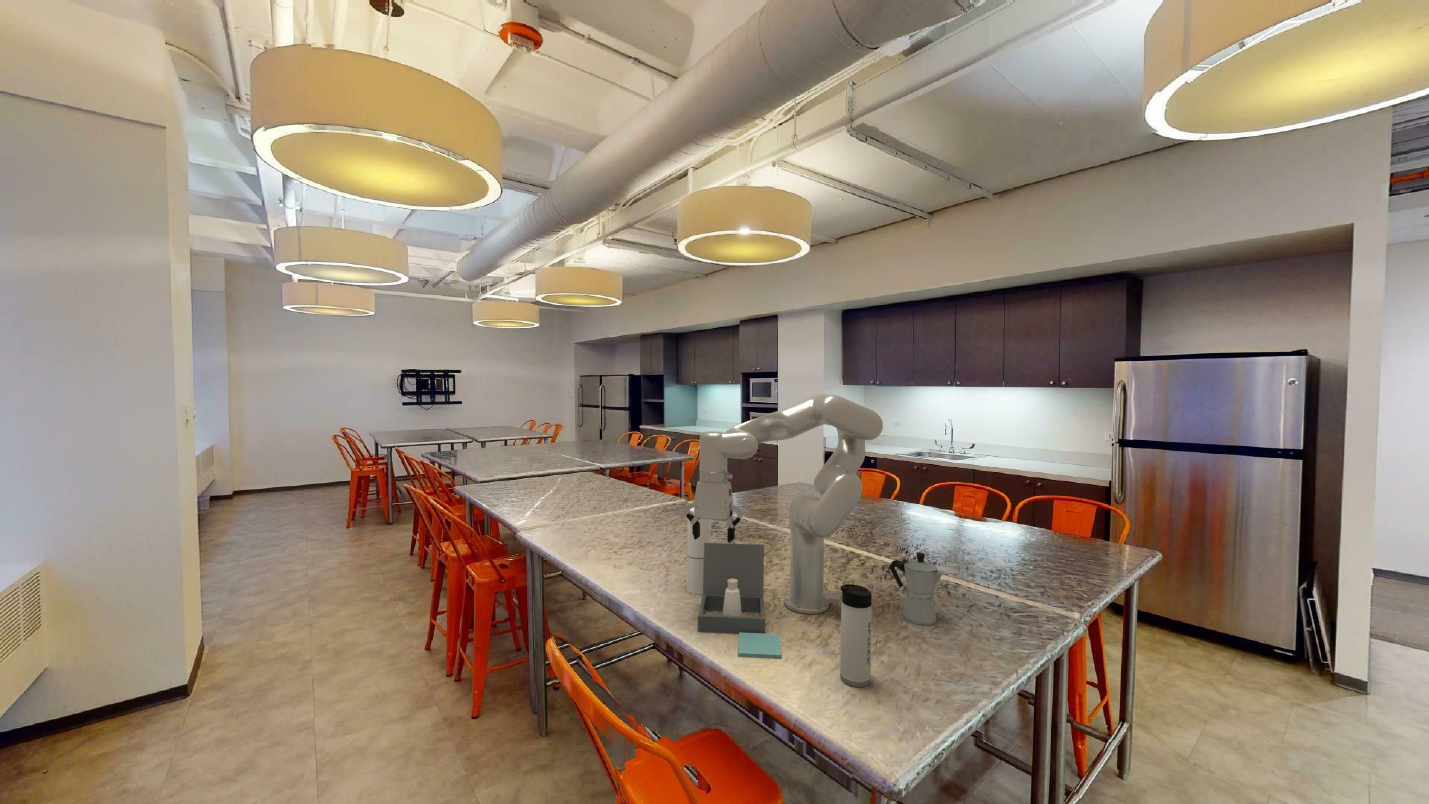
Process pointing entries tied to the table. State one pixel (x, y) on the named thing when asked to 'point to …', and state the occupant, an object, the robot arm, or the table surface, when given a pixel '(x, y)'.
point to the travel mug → (855, 635)
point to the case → (731, 622)
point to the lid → (733, 568)
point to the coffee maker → (918, 589)
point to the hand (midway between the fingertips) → (713, 539)
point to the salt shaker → (732, 599)
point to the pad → (759, 645)
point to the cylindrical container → (696, 555)
